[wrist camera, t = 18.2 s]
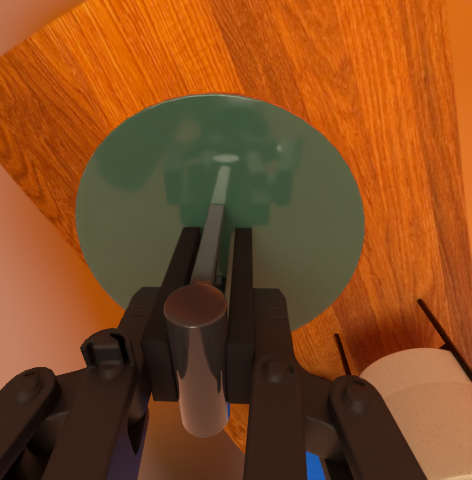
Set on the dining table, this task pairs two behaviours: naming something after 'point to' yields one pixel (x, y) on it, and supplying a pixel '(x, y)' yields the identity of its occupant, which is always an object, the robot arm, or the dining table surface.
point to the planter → (428, 402)
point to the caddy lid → (218, 223)
